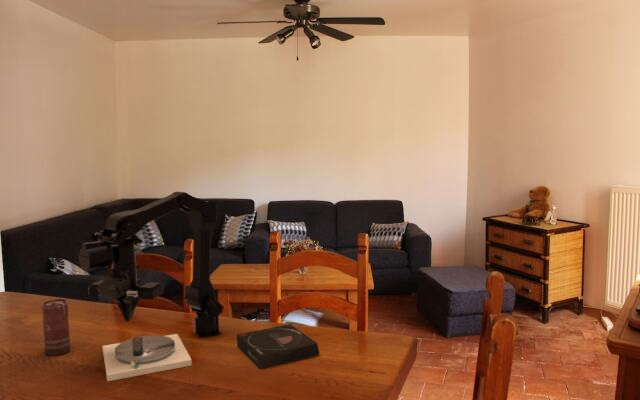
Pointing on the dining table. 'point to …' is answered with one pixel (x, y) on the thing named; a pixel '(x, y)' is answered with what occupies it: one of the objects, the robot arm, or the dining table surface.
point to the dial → (144, 349)
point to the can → (56, 327)
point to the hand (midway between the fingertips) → (128, 321)
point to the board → (126, 370)
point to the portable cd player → (276, 346)
